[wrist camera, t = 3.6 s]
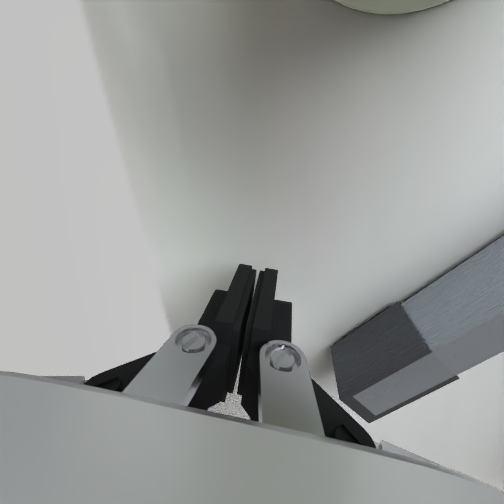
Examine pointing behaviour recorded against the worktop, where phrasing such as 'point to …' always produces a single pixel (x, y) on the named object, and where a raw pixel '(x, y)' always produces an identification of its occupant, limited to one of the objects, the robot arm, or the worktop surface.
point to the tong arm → (424, 338)
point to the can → (390, 5)
